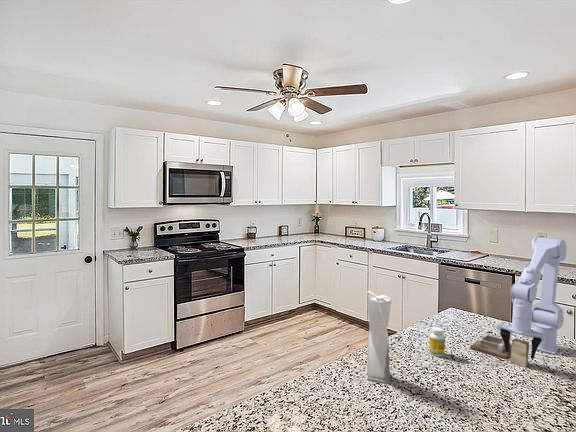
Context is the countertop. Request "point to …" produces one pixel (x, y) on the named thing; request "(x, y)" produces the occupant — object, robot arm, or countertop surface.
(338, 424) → the countertop surface
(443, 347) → the supplement bottle
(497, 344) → the socket board
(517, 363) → the birch peg
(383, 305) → the skyscraper
